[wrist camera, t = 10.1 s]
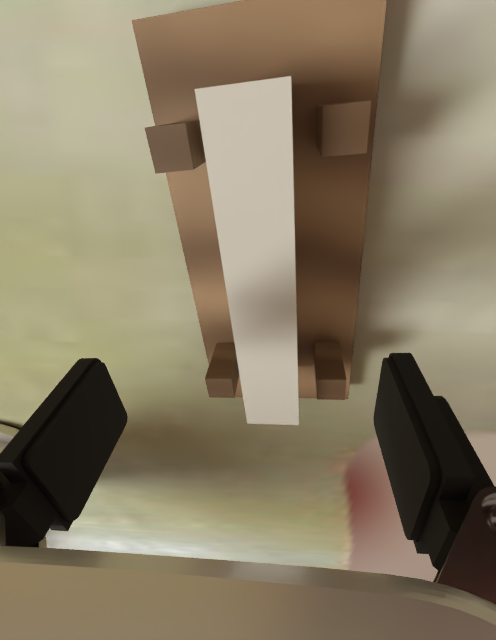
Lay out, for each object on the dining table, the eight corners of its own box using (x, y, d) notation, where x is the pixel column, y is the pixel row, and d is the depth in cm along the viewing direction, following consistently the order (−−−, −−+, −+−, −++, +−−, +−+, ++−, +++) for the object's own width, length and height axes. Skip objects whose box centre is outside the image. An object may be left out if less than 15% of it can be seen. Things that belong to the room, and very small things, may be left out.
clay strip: (298, 366, 22) (298, 425, 18) (255, 365, 23) (247, 423, 19) (292, 84, 14) (291, 75, 10) (223, 92, 14) (194, 89, 10)
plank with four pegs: (345, 384, 25) (355, 439, 21) (219, 382, 26) (205, 434, 22) (379, -13, 13) (420, -68, 9) (145, 27, 14) (86, -3, 10)
